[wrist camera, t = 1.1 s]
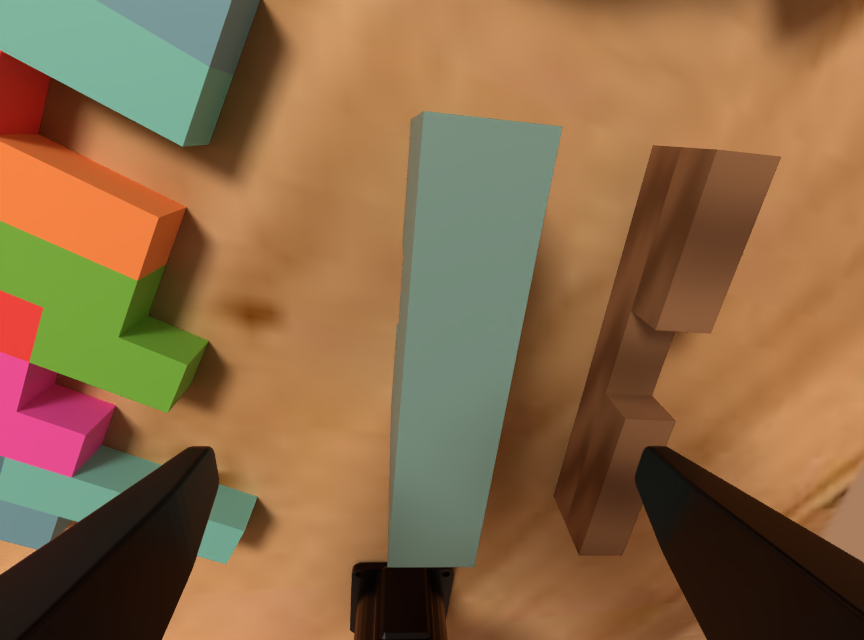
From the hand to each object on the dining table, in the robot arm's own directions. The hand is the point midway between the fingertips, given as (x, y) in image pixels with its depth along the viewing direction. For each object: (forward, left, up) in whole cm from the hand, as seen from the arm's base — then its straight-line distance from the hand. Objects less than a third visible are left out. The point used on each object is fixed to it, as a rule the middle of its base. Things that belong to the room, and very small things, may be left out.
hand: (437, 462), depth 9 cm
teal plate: (0, -1, -12) cm, 12 cm away
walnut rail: (-3, -11, -12) cm, 17 cm away
